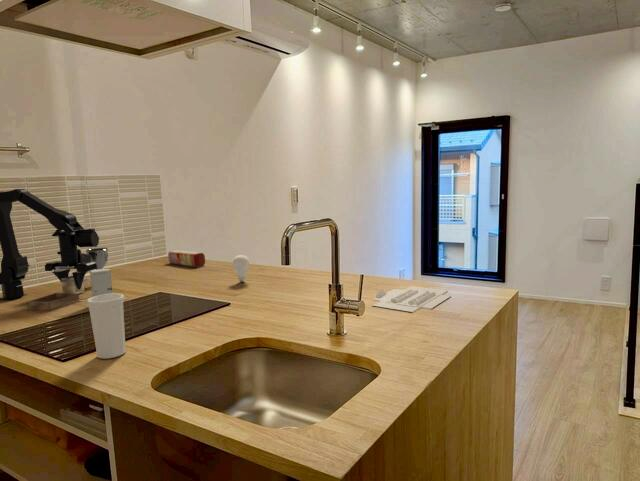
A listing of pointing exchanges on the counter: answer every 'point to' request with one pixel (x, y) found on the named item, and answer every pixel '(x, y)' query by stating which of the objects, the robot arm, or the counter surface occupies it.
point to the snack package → (187, 258)
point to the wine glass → (98, 256)
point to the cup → (108, 324)
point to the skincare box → (101, 282)
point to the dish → (87, 282)
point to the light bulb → (241, 266)
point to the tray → (410, 298)
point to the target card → (84, 299)
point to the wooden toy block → (71, 285)
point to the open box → (52, 301)
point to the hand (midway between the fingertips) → (73, 289)
